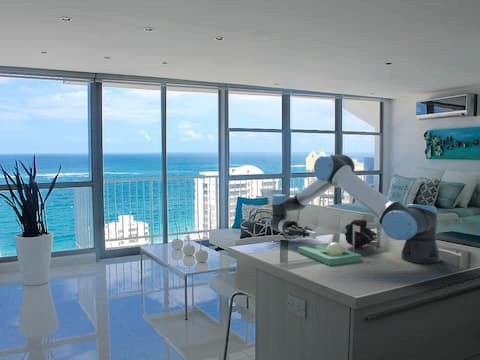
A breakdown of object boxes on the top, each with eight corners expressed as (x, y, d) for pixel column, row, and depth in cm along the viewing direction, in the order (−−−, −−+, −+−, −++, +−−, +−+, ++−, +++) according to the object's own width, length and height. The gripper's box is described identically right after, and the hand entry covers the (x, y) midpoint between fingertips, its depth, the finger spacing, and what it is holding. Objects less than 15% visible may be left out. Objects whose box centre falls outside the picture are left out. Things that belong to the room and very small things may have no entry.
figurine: (389, 229, 206) (365, 218, 184) (384, 255, 204) (360, 247, 182) (363, 225, 215) (337, 213, 193) (358, 250, 213) (332, 241, 191)
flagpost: (352, 256, 180) (352, 224, 179) (353, 256, 180) (353, 224, 180) (358, 259, 176) (359, 226, 175) (360, 258, 176) (360, 226, 176)
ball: (347, 243, 177) (340, 253, 181) (332, 236, 177) (325, 246, 182) (344, 255, 171) (337, 264, 176) (329, 247, 172) (322, 257, 177)
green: (298, 252, 189) (298, 246, 189) (327, 248, 195) (327, 243, 195) (329, 265, 167) (329, 259, 166) (361, 261, 173) (361, 255, 173)
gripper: (299, 233, 214) (326, 242, 192) (277, 235, 209) (302, 245, 187) (299, 219, 213) (326, 226, 192) (277, 220, 208) (302, 228, 187)
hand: (314, 235), depth 189 cm, fingers closed
